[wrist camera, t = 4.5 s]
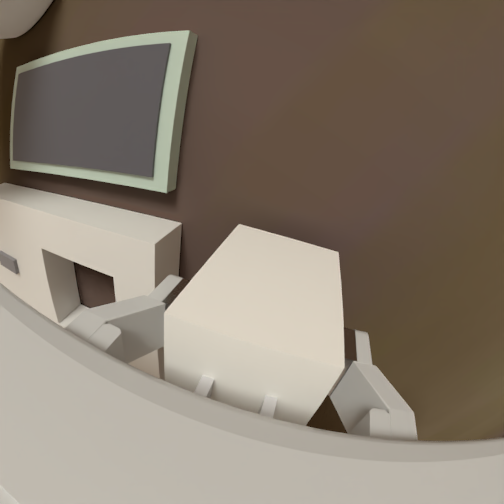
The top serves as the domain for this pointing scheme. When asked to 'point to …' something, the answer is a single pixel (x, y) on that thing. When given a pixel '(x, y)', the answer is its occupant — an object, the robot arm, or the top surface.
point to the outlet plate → (82, 253)
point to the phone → (105, 110)
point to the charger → (259, 326)
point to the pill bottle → (20, 16)
